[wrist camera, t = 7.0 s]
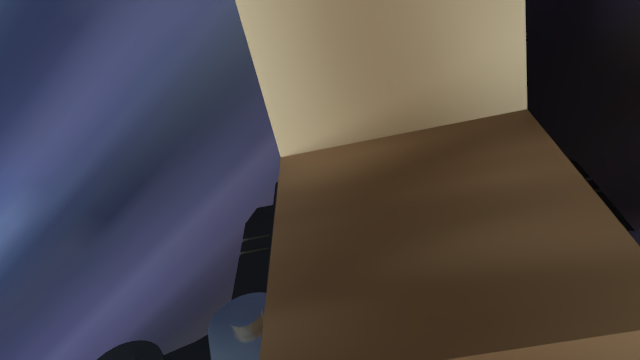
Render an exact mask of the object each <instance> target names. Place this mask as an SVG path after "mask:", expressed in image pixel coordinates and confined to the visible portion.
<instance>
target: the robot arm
mask: <svg viewBox="0 0 640 360" xmlns="http://www.w3.org/2000/svg"><path fill="white" fill-rule="evenodd" d="M568 159H569V158H568ZM569 161H570V162H571V163H572V164H573V165H574V167H575V168H576V169H577V170H578V172H579V173H580V174H581V175H582V176H583V178H584V179H585V180H586V181H587V183H588V184H589V185H590V186H591V187H592V189H593V190H594V191H595V192H596V194H597V195H598V196H599V197H600V198H601V200H602V201H603V202H604V203H605V205H606V206H607V207H608V208H609V209H610V211H611V212H612V213H613V214H614V215H615V217H616V218H617V219H618V220H619V222H620V223H621V224H622V225H623V226H624V228H625V229H626V230H627V231H628V233H629V234H630V235H631V236H632V237H633V239H634V240H635V241H636V242H637V244H638V245H639V246H640V232H637V231H635V230H634V229H633V228H632V227H631V225H630V224H629V223H628V222H627V221H626V220H625V218H624V217H623V216H622V215H621V214H620V212H619V211H618V210H617V209H616V208H615V207H614V205H613V204H612V203H611V202H610V201H609V199H608V198H607V197H606V196H605V195H604V193H603V192H600V190H599V188H598V186H597V185H596V184H595V183H594V182H593V180H590V177H589V176H588V175H587V173H586V172H585V171H584V170H583V169H582V167H581V166H580V165H579V164H578V163H577V162H575V161H573V160H571V159H569ZM277 189H278V182H276V186H275V195H274V203H273V205H271V206H265V207H260V208H257V209H256V210H255V212H254V213H253V214H252V216H251V217H250V218H249V220H248V221H247V222H246V224H245V230H244V235H243V242H242V246H241V251H240V253H241V255H240V257H239V262H238V268H237V273H236V279H235V284H234V290H233V295H232V300H231V301H230V302H228V303H227V304H225V305H224V306H223V307H222V308H221V309H219V310H218V312H217V313H216V314H215V315H214V317H213V318H212V320H211V322H210V325H209V328H208V335H206V336H205V337H203V338H201V339H200V340H198V341H196V342H194V343H191V344H189V345H187V346H184V347H182V348H180V349H177V350H175V351H173V352H170V353H168V354H166V355H163V353H162V351H161V350H160V348H159V347H158V346H157V345H156V344H154V343H152V342H149V341H142V340H138V341H131V342H127V343H124V344H121V345H119V346H117V347H115V348H113V349H111V350H109V351H108V352H106V353H105V354H103V355H102V356H101V357H100V358H98V359H97V360H259V359H260V349H261V340H262V330H263V321H264V311H265V302H266V293H267V283H268V274H269V264H270V255H271V245H272V236H273V226H274V217H275V207H276V198H277Z"/></svg>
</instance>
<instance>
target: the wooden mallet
mask: <svg viewBox="0 0 640 360" xmlns="http://www.w3.org/2000/svg"><path fill="white" fill-rule="evenodd" d="M235 1H236V4H237V8H238V11H239V15H240V18H241V22H242V25H243V28H244V32H245V35H246V39H247V42H248V46H249V49H250V53H251V56H252V60H253V63H254V66H255V70H256V73H257V77H258V80H259V84H260V87H261V91H262V94H263V97H264V101H265V104H266V108H267V111H268V115H269V118H270V122H271V125H272V129H273V132H274V135H275V139H276V142H277V146H278V149H279V153H280V156H281V160H280V170H279V179H278V189H277V198H276V207H275V217H274V226H273V236H272V245H271V255H270V264H269V274H268V283H267V293H266V302H265V311H264V321H263V330H262V340H261V349H260V359H259V360H640V246H639V245H638V244H637V242H636V241H635V240H634V239H633V237H632V236H631V235H630V234H629V233H628V231H627V230H626V229H625V228H624V226H623V225H622V224H621V223H620V222H619V220H618V219H617V218H616V217H615V215H614V214H613V213H612V212H611V211H610V209H609V208H608V207H607V206H606V205H605V203H604V202H603V201H602V200H601V198H600V197H599V196H598V195H597V194H596V192H595V191H594V190H593V189H592V187H591V186H590V185H589V184H588V183H587V181H586V180H585V179H584V178H583V176H582V175H581V174H580V173H579V172H578V170H577V169H576V168H575V167H574V165H573V164H572V163H571V162H570V161H569V159H568V158H567V157H566V156H565V154H564V153H563V152H562V151H561V150H560V148H559V147H558V146H557V145H556V144H555V142H554V141H553V140H552V139H551V137H550V136H549V135H548V134H547V133H546V131H545V130H544V129H543V128H542V126H541V125H540V124H539V123H538V122H537V120H536V119H535V118H534V117H533V115H532V114H531V113H530V112H529V111H528V109H527V67H526V13H525V0H235Z"/></svg>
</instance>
